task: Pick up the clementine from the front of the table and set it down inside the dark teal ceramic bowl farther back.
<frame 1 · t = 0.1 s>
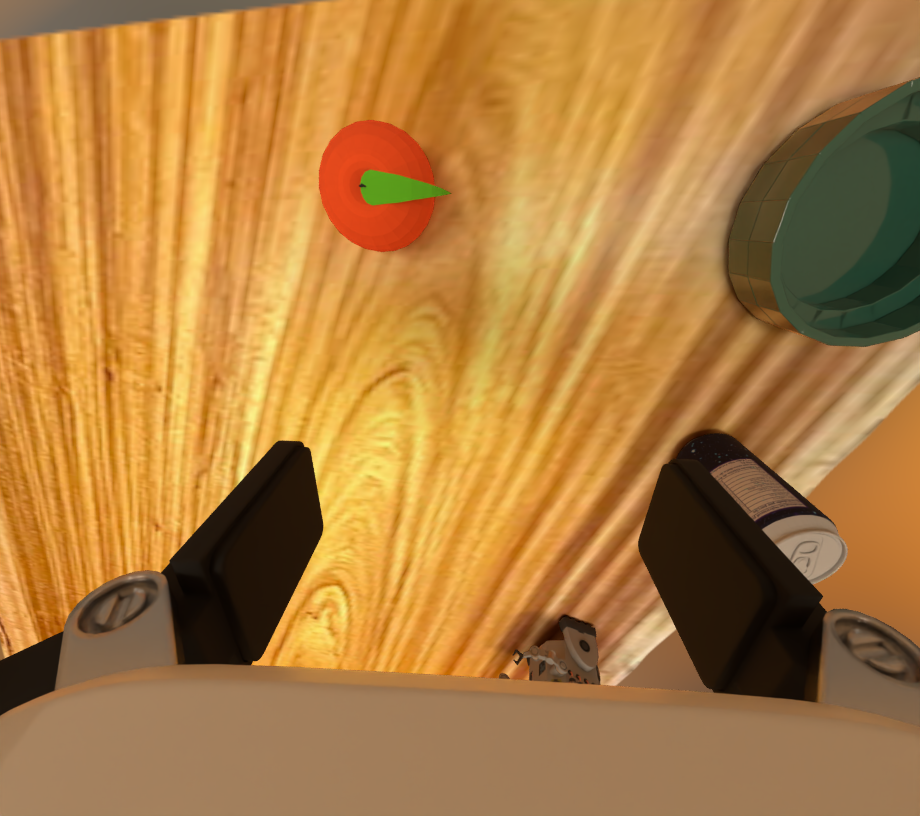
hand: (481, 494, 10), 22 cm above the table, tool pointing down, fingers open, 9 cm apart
figurine: (543, 632, 47), on the table
bowl: (833, 224, 26), on the table
clementine: (398, 194, 27), on the table
beverage can: (701, 453, 35), on the table
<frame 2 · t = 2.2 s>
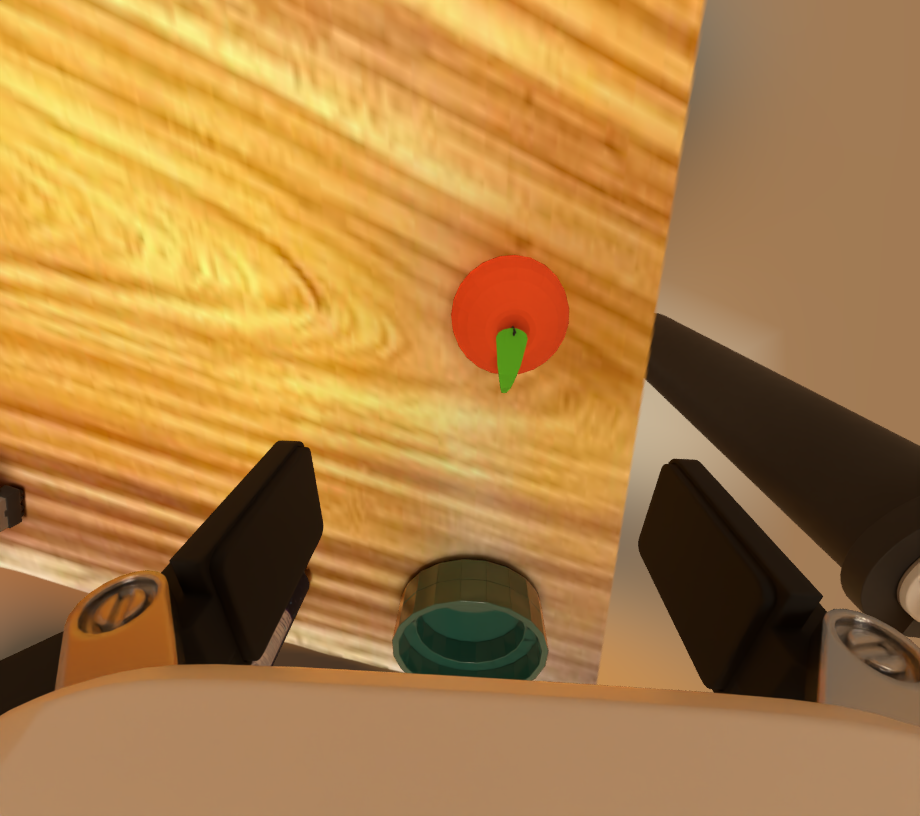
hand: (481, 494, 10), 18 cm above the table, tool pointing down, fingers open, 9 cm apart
bowl: (470, 604, 39), on the table
clementine: (504, 312, 26), on the table
beverage can: (285, 570, 39), on the table
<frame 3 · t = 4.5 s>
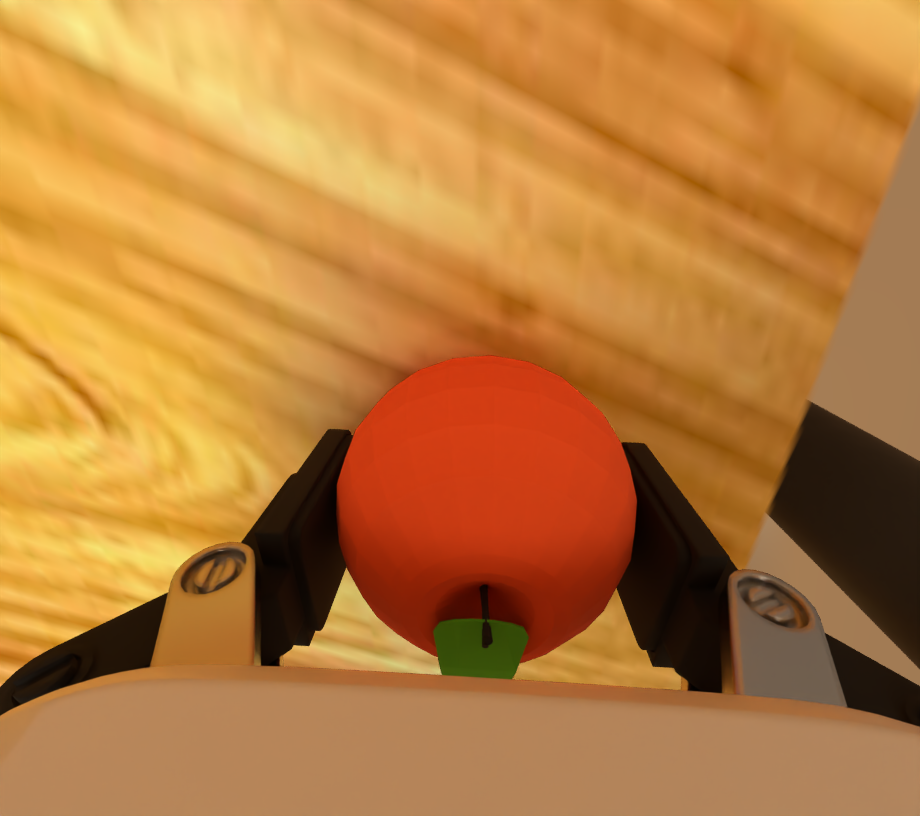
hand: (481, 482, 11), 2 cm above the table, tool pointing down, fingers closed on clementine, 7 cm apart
clementine: (480, 438, 13), on the table, touching gripper
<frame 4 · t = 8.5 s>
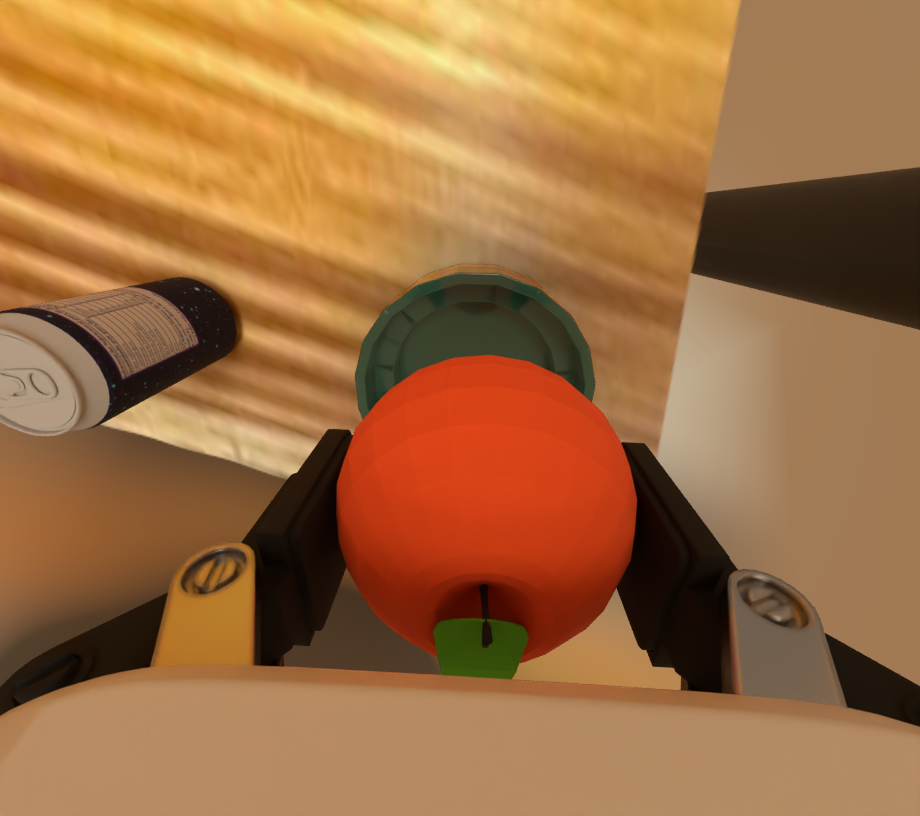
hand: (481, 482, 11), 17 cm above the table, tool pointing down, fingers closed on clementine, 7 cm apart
bowl: (473, 368, 27), on the table
clementine: (480, 438, 13), point 15 cm above the table, touching gripper
beverage can: (204, 317, 27), on the table
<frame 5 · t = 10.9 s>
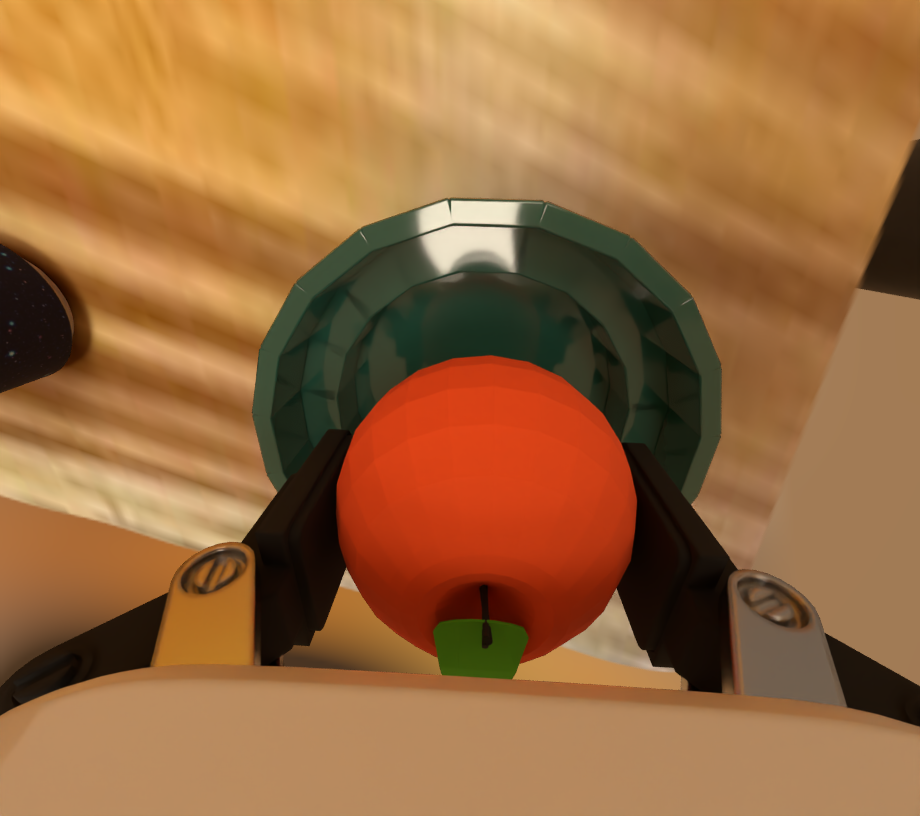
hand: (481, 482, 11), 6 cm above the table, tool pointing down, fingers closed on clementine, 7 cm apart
bowl: (480, 391, 16), on the table
clementine: (480, 438, 13), point 4 cm above the table, touching gripper
beverage can: (25, 303, 16), on the table
when the fingers open (3 cm above the table, at t = 12.5 s): clementine stays where it is, resting on bowl.
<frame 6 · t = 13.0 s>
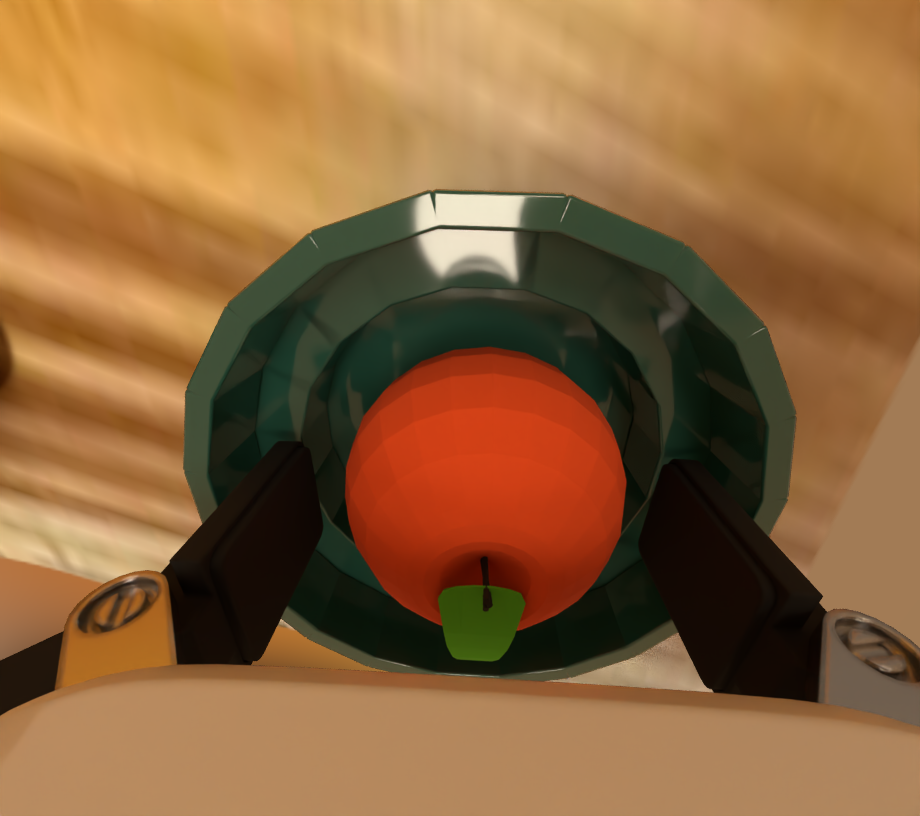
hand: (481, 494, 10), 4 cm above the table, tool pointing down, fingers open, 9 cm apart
bowl: (477, 424, 14), on the table
clementine: (480, 429, 13), resting on bowl
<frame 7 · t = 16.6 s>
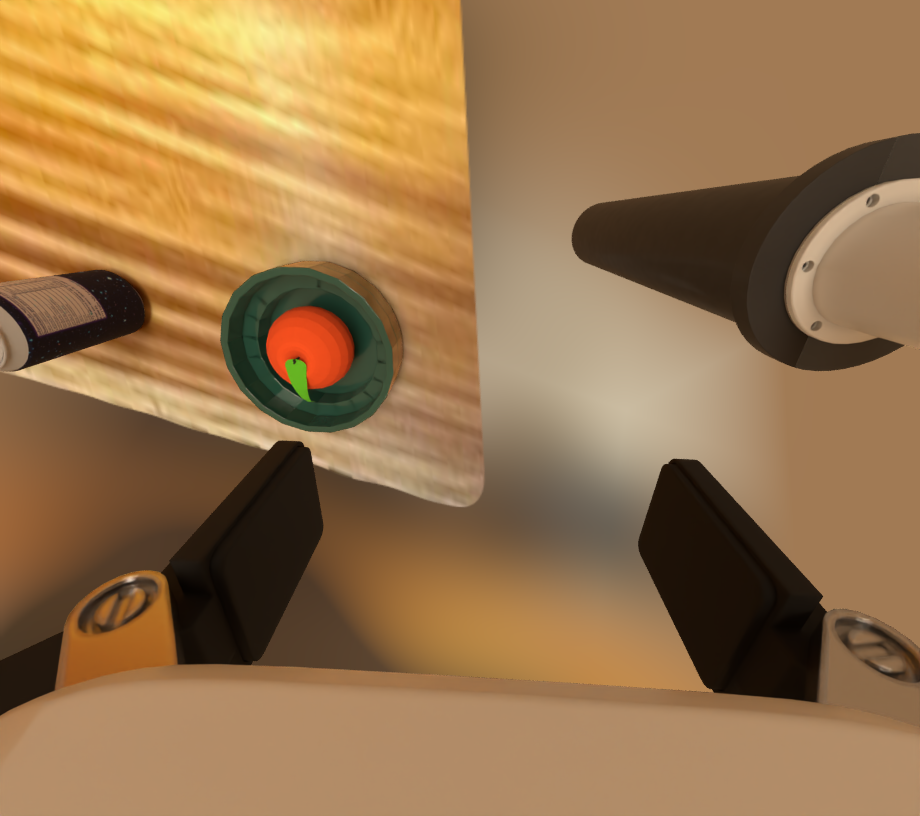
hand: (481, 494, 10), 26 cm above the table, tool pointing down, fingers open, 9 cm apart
bowl: (328, 340, 36), on the table
clementine: (328, 341, 36), resting on bowl
beverage can: (122, 300, 35), on the table
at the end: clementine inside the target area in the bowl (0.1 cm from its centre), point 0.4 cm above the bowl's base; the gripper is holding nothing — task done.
